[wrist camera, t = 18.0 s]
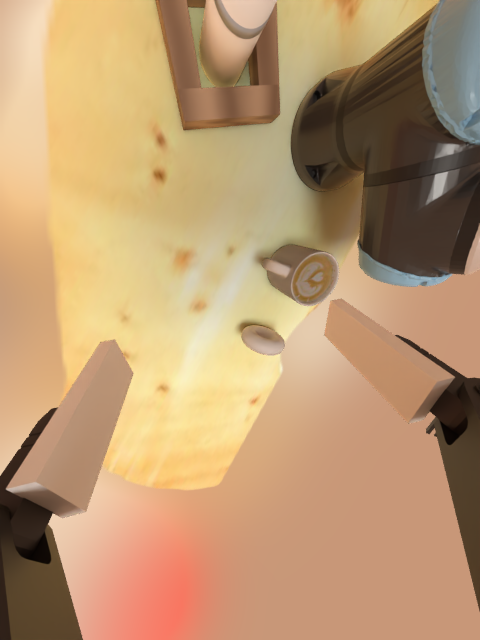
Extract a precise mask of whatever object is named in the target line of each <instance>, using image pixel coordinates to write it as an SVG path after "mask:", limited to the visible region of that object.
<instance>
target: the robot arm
mask: <svg viewBox="0 0 480 640" xmlns="http://www.w3.org/2000/svg"><path fill="white" fill-rule="evenodd" d="M291 146H292V157H293V162H294V165H295V168H296V171H297V173H298V175H299V177H300V178H301V180H302V181H303V182H304V183H305V184H306V185H307V186H308V187H310V188H312V189H314V190H317V191H329V190H334V189H338V188H340V187H342V186H344V185H346V184H347V183H349V182H350V181H352V180H353V179H355V178H356V177H358V176H359V175H360V174H362V173H363V172H364V185H363V198H362V210H361V222H360V233H359V240H358V248H359V265H360V268H361V269H362V270H363V271H364V272H365V274H367V275H368V276H370V277H371V278H373V279H376V280H378V281H381V282H384V283H388V284H392V285H399V286H407V287H408V286H409V287H417V286H418V285H422V286H431V285H436V284H439V283H441V282H444V281H445V280H447V279H448V278H449V277H450V276H451V275H452V274H464V275H470V274H472V273H474V272H476V271H478V270H480V0H440V1H439V2H438V3H437V4H436V5H435V6H434V7H433V8H432V9H430V10H429V11H428V12H427V13H425V14H424V15H423V16H422V17H420V18H419V19H418V20H417V21H416V22H414V23H413V24H412V25H411V26H409V27H408V28H407V29H406V30H404V31H403V32H402V33H401V34H400V35H398V36H397V37H396V38H395V39H393V40H392V41H391V42H390V43H388V44H387V45H386V46H385V47H384V48H382V49H381V50H380V51H379V52H377V53H376V54H375V55H374V56H373V57H371V58H370V59H369V60H368V61H367V62H365V63H364V64H363V65H359V66H354V67H350V68H346V69H342V70H337V71H335V72H332V73H330V74H329V75H327V76H326V77H324V78H323V79H322V80H321V81H320V82H318V83H317V84H316V85H315V86H314V87H313V88H312V89H311V90H310V91H309V92H308V94H307V95H306V96H305V98H304V99H303V101H302V103H301V105H300V107H299V109H298V112H297V114H296V117H295V121H294V125H293V130H292V140H291ZM324 335H325V336H326V337H327V338H328V339H329V340H330V341H331V343H332V344H333V345H334V346H335V347H336V348H337V349H338V350H339V351H340V352H341V353H342V354H343V355H344V356H345V357H346V358H347V360H348V361H350V363H351V364H352V365H353V366H354V367H355V368H356V369H357V370H358V371H359V372H360V373H361V374H362V375H363V376H364V377H365V379H366V380H367V381H368V382H369V383H370V384H371V385H372V386H373V387H374V388H375V389H376V390H377V391H378V392H379V393H380V394H381V396H382V397H383V398H384V399H385V400H386V401H387V402H388V403H389V404H390V405H391V406H392V407H393V408H394V409H395V410H396V411H397V412H398V414H399V415H401V417H403V419H404V420H405V421H406V422H407V423H408V424H409V423H413V422H417V421H420V420H423V419H424V418H425V417H426V416H427V414H428V413H429V412H431V413H432V414H434V415H435V416H436V417H435V419H434V420H433V421H432V422H431V424H430V425H429V426H428V428H427V429H426V433H428V434H430V433H431V431H432V430H433V429H434V428H435V430H436V433H435V434H434V436H436V437H437V439H438V443H439V446H440V450H441V455H442V459H443V463H444V467H445V471H446V475H447V479H448V483H449V487H450V491H451V496H452V500H453V504H454V508H455V512H456V516H457V520H458V524H459V528H460V533H461V536H462V541H463V545H464V549H465V553H466V557H467V561H468V565H469V569H470V573H471V578H472V582H473V586H474V590H475V594H476V598H477V602H478V606H479V610H480V378H466V377H465V376H463V375H461V374H460V373H458V372H457V371H455V370H454V369H452V368H450V367H449V366H448V365H446V364H445V363H443V362H442V361H440V360H439V359H437V358H436V357H434V356H433V355H431V354H429V353H428V352H427V351H425V350H424V349H421V348H420V347H419V346H418V345H416V344H415V343H413V342H412V341H410V340H408V339H406V338H403V337H401V336H399V335H393V334H392V333H390V332H389V331H388V330H386V329H385V328H383V327H382V326H380V325H379V324H377V323H376V322H374V321H373V320H372V319H370V318H369V317H367V316H366V315H364V314H363V313H361V312H360V311H358V310H357V309H356V308H354V307H353V306H351V305H350V304H348V303H347V302H345V301H344V300H342V299H337V300H332V301H330V306H329V312H328V317H327V323H326V328H325V334H324ZM132 376H133V371H132V370H131V368H130V366H129V364H128V362H127V361H126V359H125V357H124V355H123V353H122V352H121V350H120V348H119V346H118V344H117V343H116V341H115V340H110V341H104V342H100V344H99V345H98V347H97V348H96V350H95V351H94V353H93V354H92V356H91V358H90V359H89V361H88V362H87V364H86V365H85V367H84V368H83V370H82V371H81V373H80V375H79V376H78V378H77V379H76V381H75V382H74V384H73V385H72V387H71V389H70V390H69V392H68V393H67V395H66V396H65V398H64V399H63V401H62V402H61V404H60V406H59V407H58V408H53V409H51V410H50V411H49V412H48V413H47V414H46V415H44V416H43V417H42V418H41V419H40V420H39V421H38V423H37V424H36V425H35V427H34V428H33V430H32V431H31V433H30V434H29V437H28V438H26V440H25V441H24V443H23V444H22V446H21V449H19V450H18V451H17V453H16V454H15V456H14V457H13V459H12V460H11V461H10V463H9V464H8V466H7V467H6V469H5V470H4V471H3V473H2V474H1V476H0V640H83V639H82V635H81V631H80V627H79V624H78V620H77V617H76V613H75V610H74V606H73V603H72V599H71V595H70V592H69V588H68V585H67V581H66V577H65V574H64V570H63V567H62V563H61V560H60V556H59V553H58V549H57V545H56V542H55V538H54V535H53V531H52V529H51V527H50V526H49V525H48V523H49V520H50V518H51V516H52V514H56V515H58V516H59V517H61V518H65V517H69V516H72V515H76V514H80V513H83V512H86V510H87V507H88V504H89V502H90V499H91V496H92V493H93V490H94V487H95V484H96V481H97V478H98V475H99V472H100V470H101V467H102V464H103V461H104V458H105V455H106V452H107V449H108V446H109V443H110V440H111V438H112V435H113V432H114V429H115V426H116V423H117V420H118V417H119V414H120V411H121V408H122V406H123V403H124V400H125V397H126V394H127V391H128V388H129V385H130V382H131V379H132Z"/></svg>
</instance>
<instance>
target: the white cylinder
mask: <svg viewBox="0 0 480 640" xmlns="http://www.w3.org/2000/svg"><path fill="white" fill-rule="evenodd" d="M276 2H277V0H206V4H205V10H204V16H203V22H202V29H201V35H200V41H199V58H200V63H201V66H202V69H203V71H204V73H205V75H206V77H207V78H208V80H209V81H210V82H211V83H212V84H213V85H214V86H216V87H233V86H234V85H235V84H236V83H237V81H238V80H239V78H240V75H241V73H242V71H243V69H244V67H245V65H246V63H247V61H248V59H249V57H250V55H251V53H252V51H253V49H254V47H255V45H256V43H257V41H258V39H259V36H260V34H261V32H262V30H263V29H264V27H265V25H266V23H267V21H268V19H269V17H270V15H271V13H272V11H273V8H274V6H275V4H276Z"/></svg>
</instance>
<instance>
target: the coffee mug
mask: <svg viewBox="0 0 480 640" xmlns="http://www.w3.org/2000/svg"><path fill="white" fill-rule="evenodd" d="M262 266H263V268H265V269H267V274H268V279H269V281H270V283H271V284H272V285H273V286H274V287H275V288H276V289H278V290H279V291H281V292H282V293H284V294H285V295H287V296H288V297H290V298H291V299H293V300H294V301H296V302H297V303H299V304H301V305H304V306H313V305H316V304H319V303H321V302H322V301H324V300H325V299H326V298H327V297H328V296H329V295H330V294H331V292H332V291H333V290H334V288H335V286H336V284H337V281H338V277H339V265H338V262H337V260H336V259H335V257H334V256H333V255H331V254H330V253H327V252H324V251H320V250H315V249H310V248H306V247H301V246H297V245H286V246H283V247H281V248H280V249H278V250H277V251H276V252H275V253H274V254H273V256H272V257H271V259H269V258H265V259H264V260H263V262H262Z"/></svg>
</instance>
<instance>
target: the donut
mask: <svg viewBox="0 0 480 640" xmlns="http://www.w3.org/2000/svg"><path fill="white" fill-rule="evenodd" d="M241 337H242V340H243V342H244V344H245V345H246V346H247V347H249V348H250V349H251V350H253V351H255V352H257V353H260V354H264V355H277V354H279V353H281V352H282V351H283V349H284V347H285V344H284V340H283V338H282V337H281V336H280V335H279V334H278V333H277V332H275V331H273V330H271V329H269V328H267V327H264V326H259V325H250V326H247V327H246V328H244V329H243V331H242V334H241Z"/></svg>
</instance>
